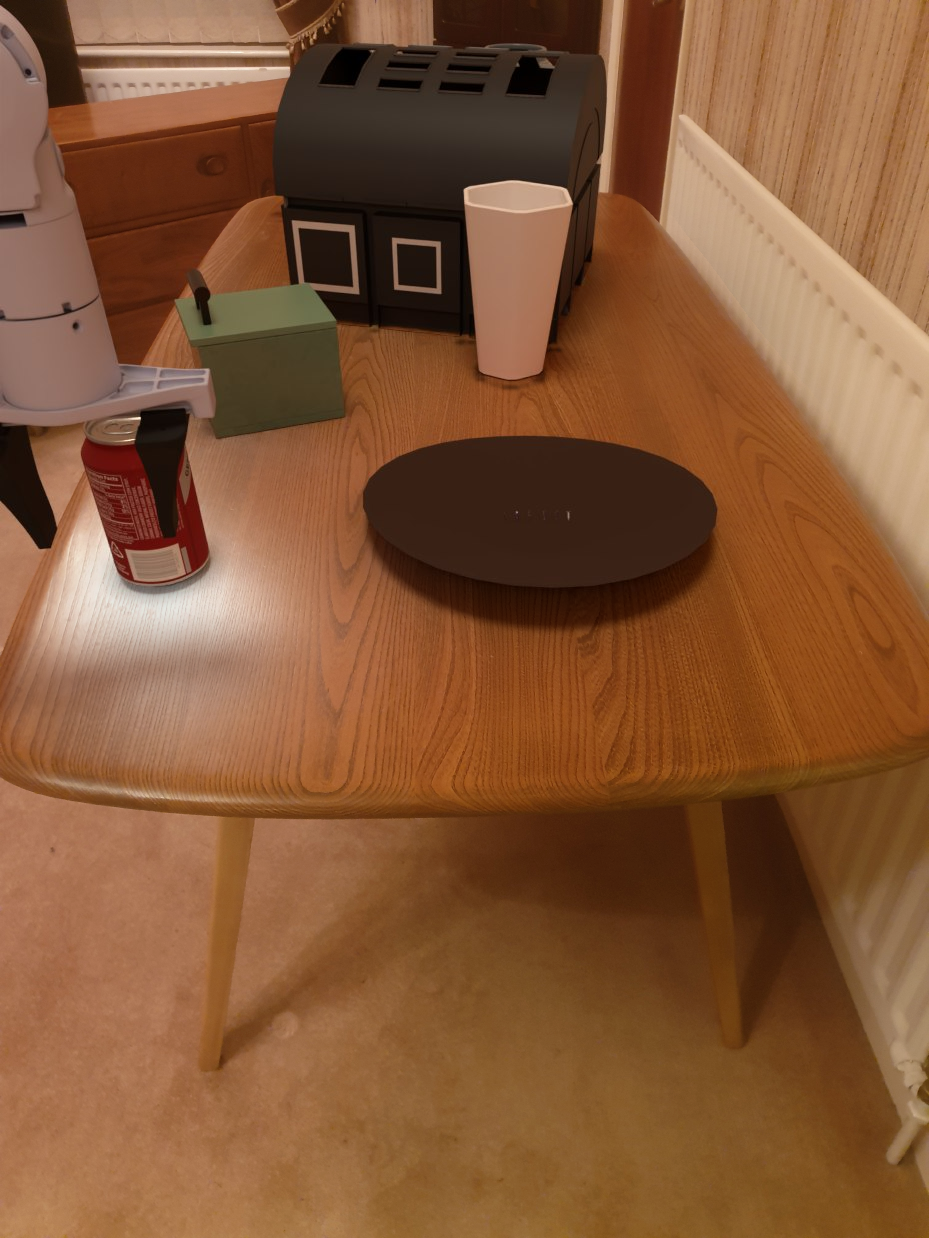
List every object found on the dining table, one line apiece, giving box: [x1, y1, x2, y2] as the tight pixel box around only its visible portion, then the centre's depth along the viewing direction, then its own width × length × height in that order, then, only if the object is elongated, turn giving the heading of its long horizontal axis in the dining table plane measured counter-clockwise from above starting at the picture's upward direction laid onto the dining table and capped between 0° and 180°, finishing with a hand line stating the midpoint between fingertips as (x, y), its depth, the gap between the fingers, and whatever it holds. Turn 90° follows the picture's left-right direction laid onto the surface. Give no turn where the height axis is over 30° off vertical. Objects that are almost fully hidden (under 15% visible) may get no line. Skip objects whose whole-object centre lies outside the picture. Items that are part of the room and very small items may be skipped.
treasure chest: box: [272, 42, 608, 345], centre depth 104 cm, size 32×32×26 cm
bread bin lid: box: [174, 268, 338, 348], centre depth 79 cm, size 13×10×4 cm
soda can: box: [80, 417, 210, 588], centre depth 61 cm, size 7×7×12 cm
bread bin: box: [189, 327, 346, 439], centre depth 83 cm, size 12×10×9 cm
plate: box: [362, 435, 718, 589], centre depth 69 cm, size 28×28×4 cm
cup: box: [464, 181, 573, 381], centre depth 88 cm, size 11×10×17 cm
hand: (110, 533), depth 50 cm, fingers open, 6 cm apart
